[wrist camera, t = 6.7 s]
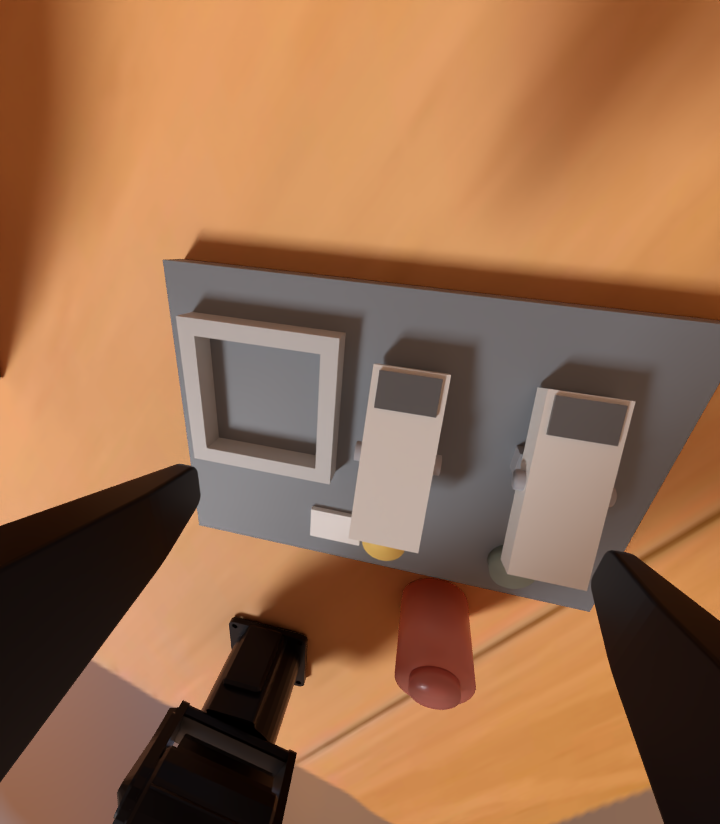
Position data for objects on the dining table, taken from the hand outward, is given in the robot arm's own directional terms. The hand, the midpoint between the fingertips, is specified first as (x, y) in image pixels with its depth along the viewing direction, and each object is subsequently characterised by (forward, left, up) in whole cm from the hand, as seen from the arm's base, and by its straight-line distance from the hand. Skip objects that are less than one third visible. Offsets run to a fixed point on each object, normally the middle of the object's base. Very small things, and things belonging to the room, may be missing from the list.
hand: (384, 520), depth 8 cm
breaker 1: (-3, 0, -8) cm, 8 cm away
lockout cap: (-16, -4, -11) cm, 20 cm away
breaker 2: (-3, -7, -8) cm, 11 cm away
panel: (-4, 0, -11) cm, 12 cm away
